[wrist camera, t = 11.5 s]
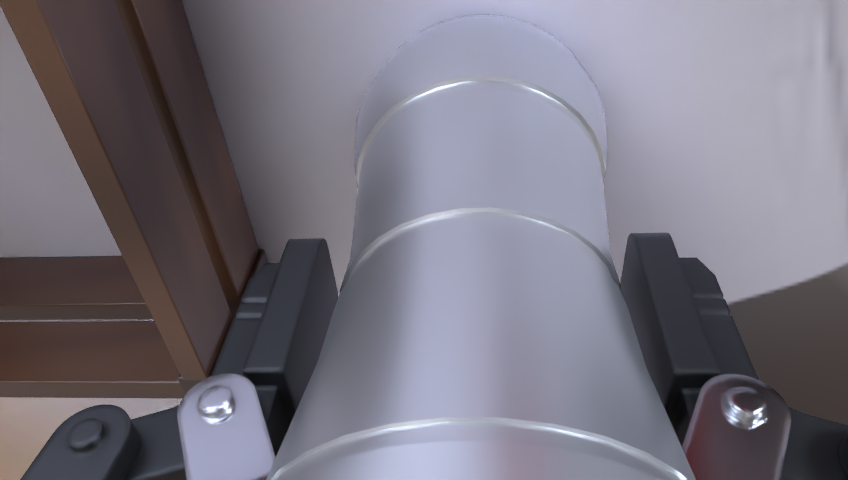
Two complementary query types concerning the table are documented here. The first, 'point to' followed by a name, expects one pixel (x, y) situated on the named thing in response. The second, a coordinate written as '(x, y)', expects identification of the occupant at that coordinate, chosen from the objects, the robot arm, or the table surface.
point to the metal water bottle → (481, 281)
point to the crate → (128, 210)
